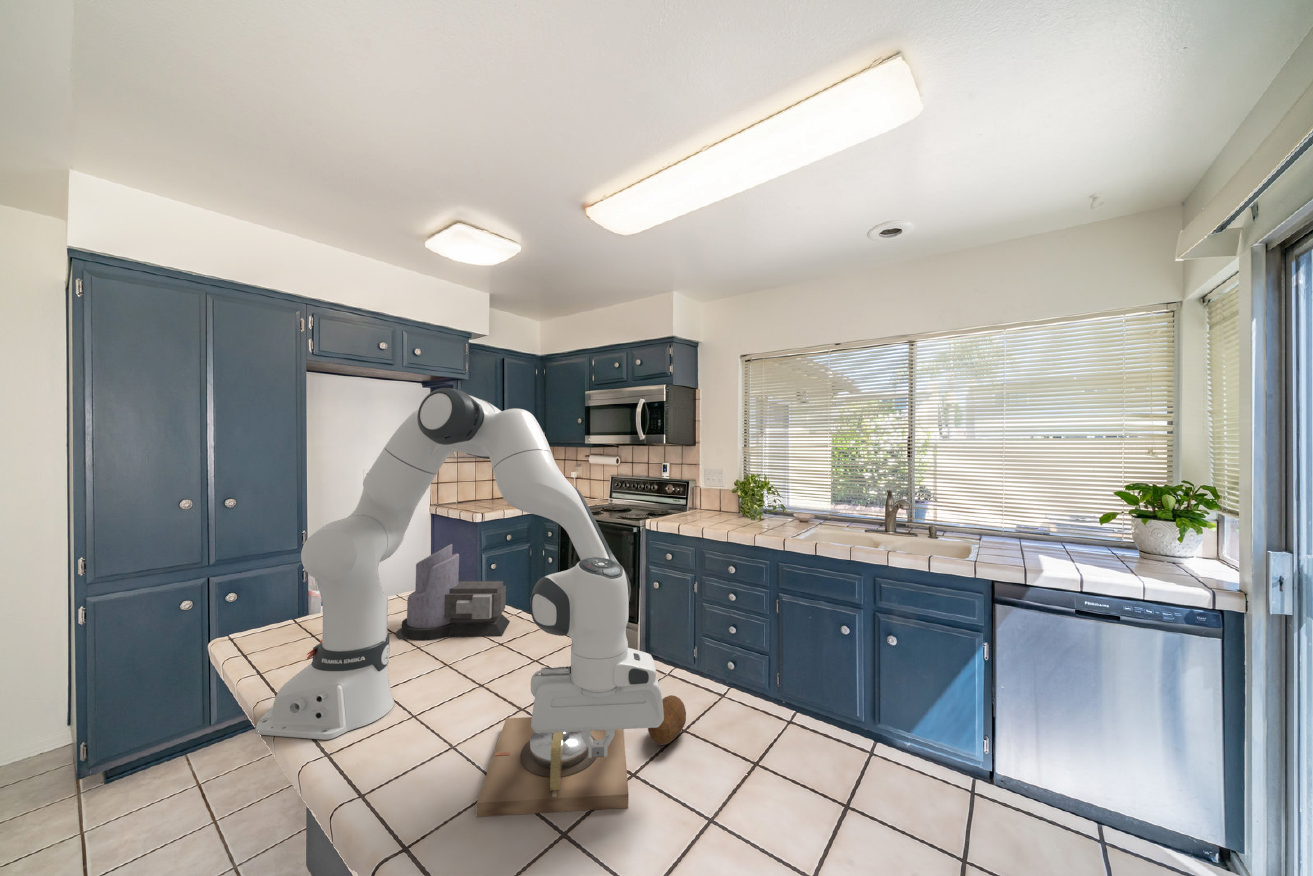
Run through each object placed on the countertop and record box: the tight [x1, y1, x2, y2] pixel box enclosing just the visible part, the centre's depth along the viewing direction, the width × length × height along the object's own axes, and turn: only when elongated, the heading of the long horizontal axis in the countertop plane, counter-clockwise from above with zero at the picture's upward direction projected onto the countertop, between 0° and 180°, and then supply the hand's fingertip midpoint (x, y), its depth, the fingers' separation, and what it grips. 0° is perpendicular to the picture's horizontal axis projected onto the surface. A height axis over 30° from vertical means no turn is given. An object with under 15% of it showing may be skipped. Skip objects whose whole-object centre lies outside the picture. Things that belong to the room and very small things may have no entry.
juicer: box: [395, 543, 511, 642], centre depth 141 cm, size 30×16×24 cm, turn 95°
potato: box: [647, 694, 687, 746], centre depth 91 cm, size 7×12×7 cm, turn 165°
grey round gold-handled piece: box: [530, 731, 589, 790], centre depth 81 cm, size 15×10×6 cm, turn 6°
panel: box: [475, 716, 630, 818], centre depth 83 cm, size 22×22×2 cm
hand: (597, 755), depth 76 cm, fingers closed
